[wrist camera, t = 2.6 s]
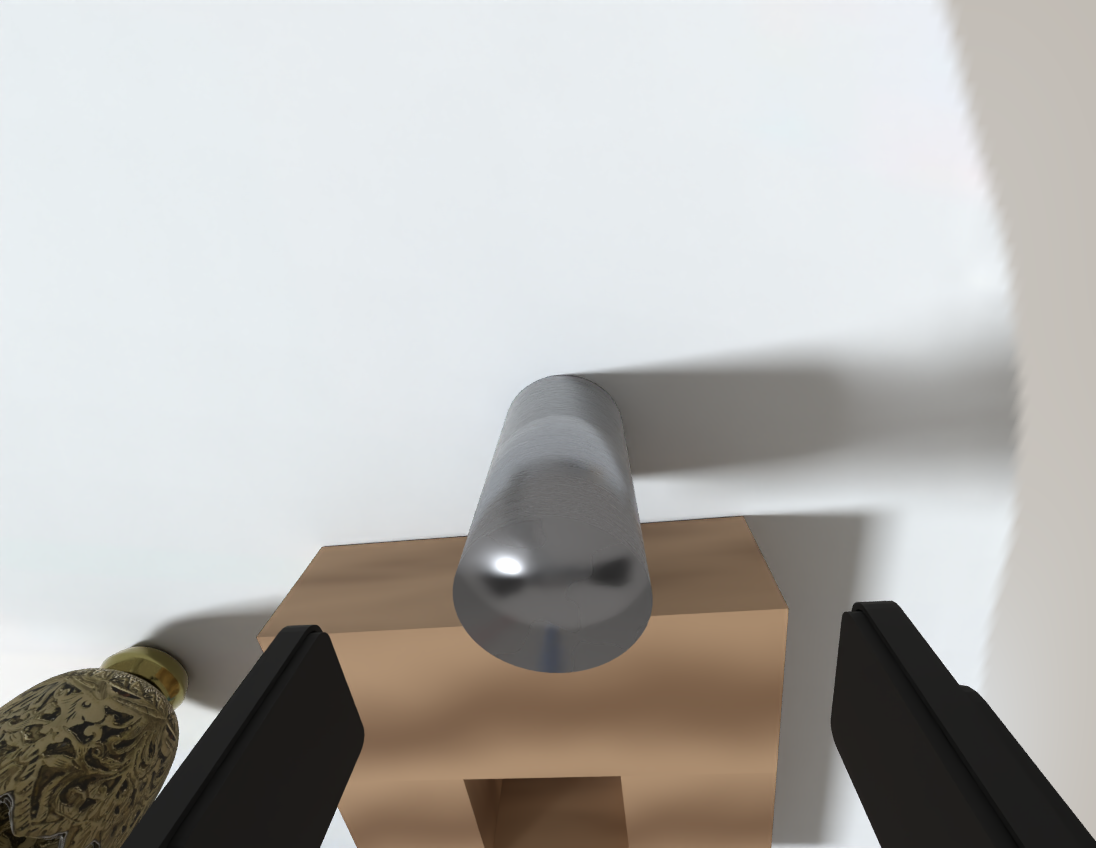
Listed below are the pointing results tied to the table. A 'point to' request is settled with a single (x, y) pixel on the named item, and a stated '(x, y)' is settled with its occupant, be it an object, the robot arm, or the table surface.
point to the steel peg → (556, 536)
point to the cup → (89, 751)
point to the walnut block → (557, 704)
